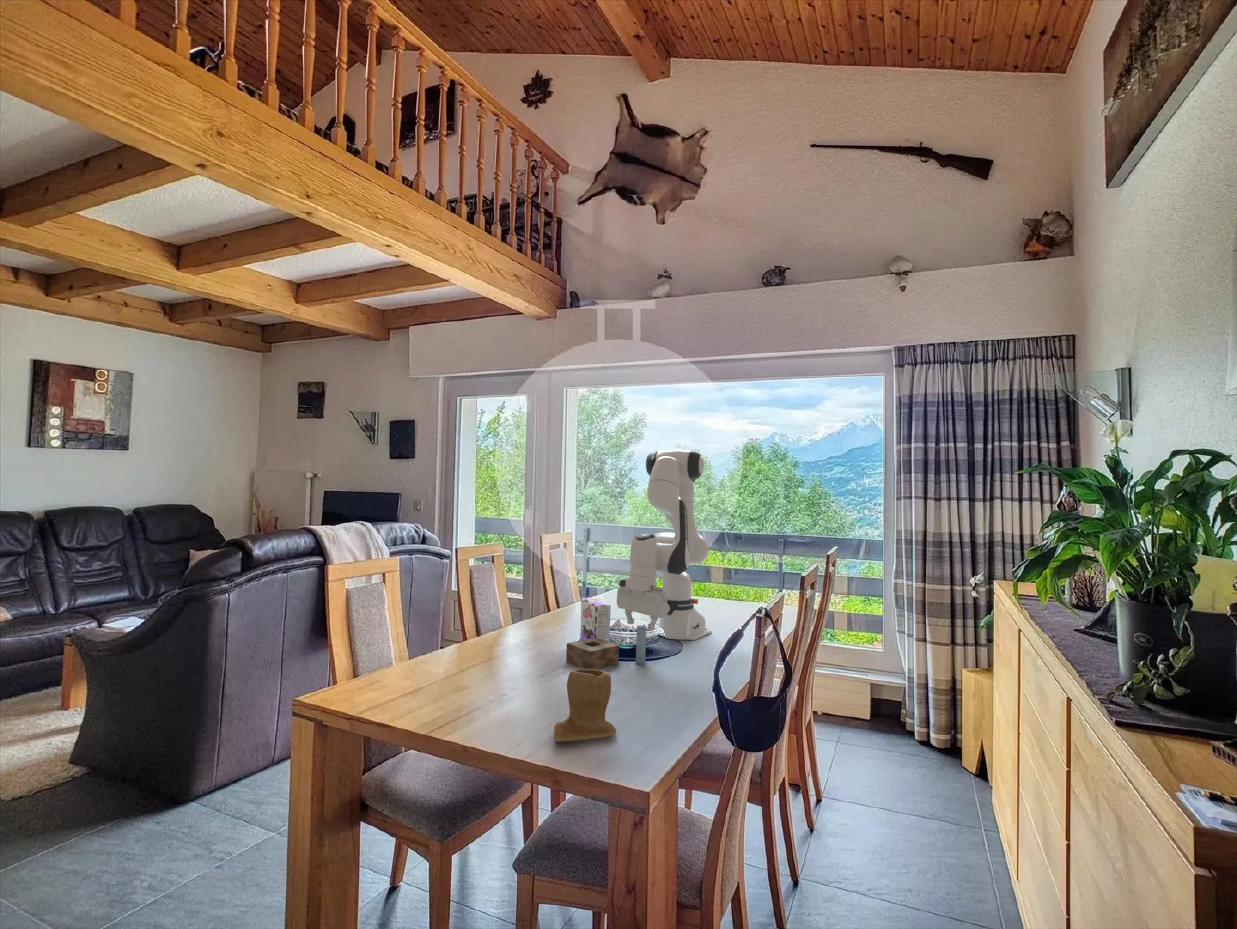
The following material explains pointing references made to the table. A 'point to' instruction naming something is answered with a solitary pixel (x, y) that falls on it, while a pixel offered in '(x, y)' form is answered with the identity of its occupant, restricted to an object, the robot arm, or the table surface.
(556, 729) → the tan suede boot
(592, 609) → the candy box
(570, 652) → the socket block
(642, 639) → the peg
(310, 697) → the table surface
